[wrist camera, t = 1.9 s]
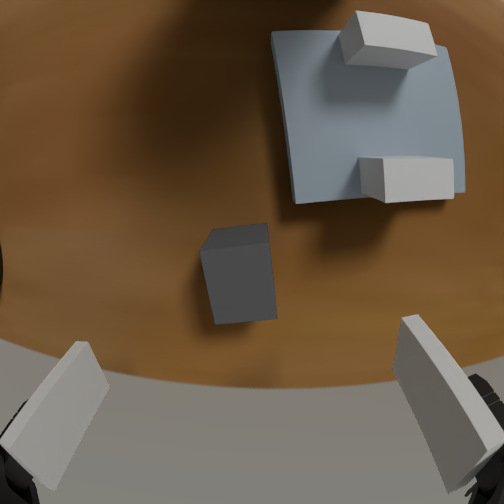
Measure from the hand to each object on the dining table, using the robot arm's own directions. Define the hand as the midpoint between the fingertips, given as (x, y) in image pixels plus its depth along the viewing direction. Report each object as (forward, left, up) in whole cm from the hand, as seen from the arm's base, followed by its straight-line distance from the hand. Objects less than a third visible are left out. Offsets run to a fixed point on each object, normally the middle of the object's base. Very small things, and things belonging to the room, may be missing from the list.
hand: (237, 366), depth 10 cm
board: (+11, +10, -12) cm, 19 cm away
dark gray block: (0, 0, -12) cm, 12 cm away
